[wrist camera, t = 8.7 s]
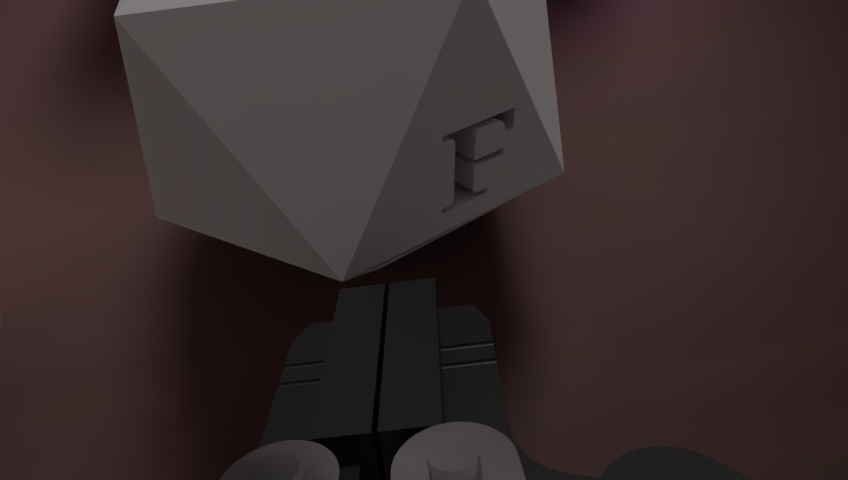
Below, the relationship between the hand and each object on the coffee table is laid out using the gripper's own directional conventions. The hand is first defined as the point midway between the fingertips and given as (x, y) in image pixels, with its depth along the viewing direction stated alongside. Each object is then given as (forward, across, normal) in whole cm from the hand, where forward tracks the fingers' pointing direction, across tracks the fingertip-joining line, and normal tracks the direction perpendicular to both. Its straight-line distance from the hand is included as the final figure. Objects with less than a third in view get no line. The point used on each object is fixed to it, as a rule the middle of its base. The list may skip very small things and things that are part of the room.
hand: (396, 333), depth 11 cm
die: (+7, +1, -1) cm, 7 cm away
